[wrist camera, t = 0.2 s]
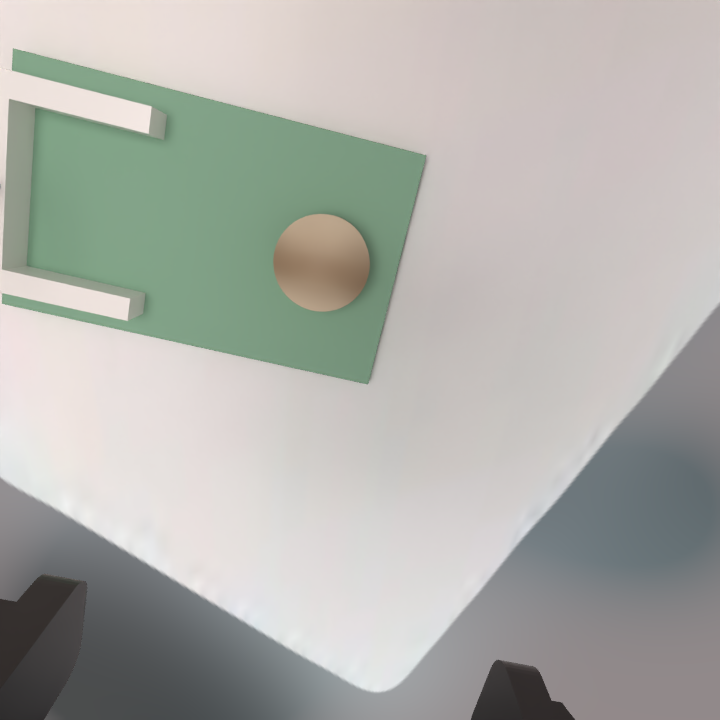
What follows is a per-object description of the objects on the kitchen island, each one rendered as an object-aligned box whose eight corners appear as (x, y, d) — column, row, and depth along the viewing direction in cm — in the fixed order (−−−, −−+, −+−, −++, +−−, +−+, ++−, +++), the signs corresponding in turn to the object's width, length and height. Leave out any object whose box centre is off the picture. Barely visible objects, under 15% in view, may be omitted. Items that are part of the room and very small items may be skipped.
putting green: (23, 53, 31) (12, 48, 30) (424, 157, 33) (426, 155, 32) (11, 301, 35) (1, 303, 34) (367, 380, 37) (368, 384, 36)
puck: (289, 204, 33) (283, 203, 30) (377, 226, 33) (379, 226, 31) (272, 292, 35) (265, 299, 32) (357, 312, 35) (357, 320, 32)
